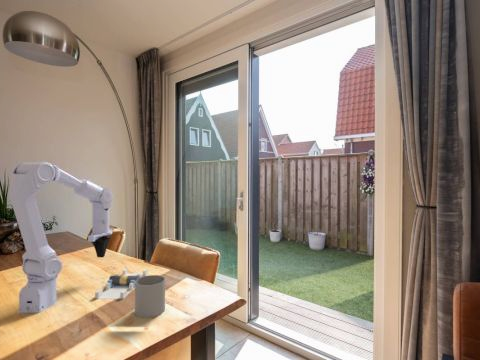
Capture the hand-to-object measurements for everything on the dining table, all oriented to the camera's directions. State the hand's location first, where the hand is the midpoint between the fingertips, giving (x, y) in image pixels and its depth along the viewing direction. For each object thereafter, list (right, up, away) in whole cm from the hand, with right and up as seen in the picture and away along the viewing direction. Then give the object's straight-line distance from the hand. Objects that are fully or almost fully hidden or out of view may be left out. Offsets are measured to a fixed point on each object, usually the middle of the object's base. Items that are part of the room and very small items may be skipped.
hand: (100, 256), depth 107 cm
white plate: (+10, -10, -4) cm, 15 cm away
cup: (+26, -11, -24) cm, 37 cm away
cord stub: (+10, -9, -4) cm, 14 cm away
